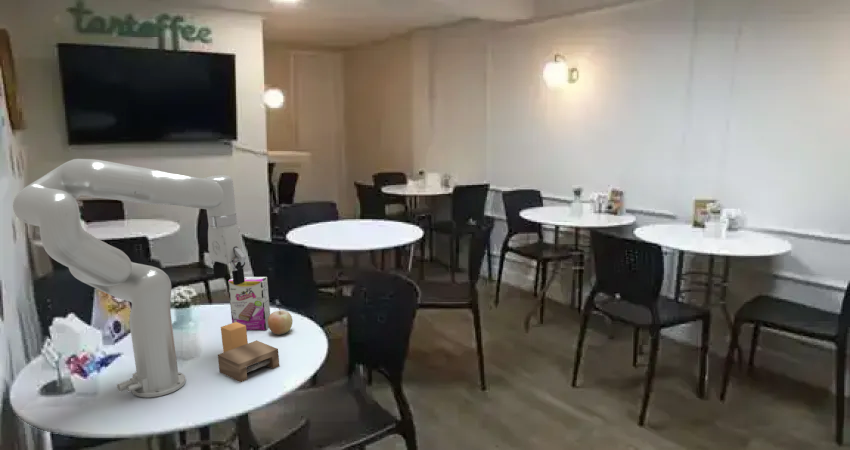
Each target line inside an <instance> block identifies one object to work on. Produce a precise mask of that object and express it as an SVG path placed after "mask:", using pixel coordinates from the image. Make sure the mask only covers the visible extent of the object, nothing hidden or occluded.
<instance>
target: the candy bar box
mask: <svg viewBox="0 0 850 450" xmlns="http://www.w3.org/2000/svg"><path fill="white" fill-rule="evenodd" d="M244 280H245V282H244V283H241V284H237V285H234V284H233V277H231V278H230V279H229V280H228V282H227V284H228V294H229V296H228V297H229V303H230V304H229V305H230V314H231V315H230V317H231V323H234V322H238V323H240V324H243V325H246V331H267V330H268V329H270V328H269V326H268V317H269V315H270V314H271V308H270V297H269V295H270V293H269V282H268V281H269V280H268V277H267V276H244Z"/></svg>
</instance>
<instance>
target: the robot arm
mask: <svg viewBox="0 0 850 450" xmlns="http://www.w3.org/2000/svg"><path fill="white" fill-rule="evenodd" d="M81 196H85V197H92V198H98V199H99V198H100V199H108V200H115V201H116V200H117V201H125V202H132V203H138V204H139V203H140V204H147V205H168V206H169V205H170V206H179V207H185V208H192V209H193V208H194V209H200V210H201V209H202V210H206V216H207V223H208V227H207V228H208V229H207V244H208V247H207V251H208V256H209V259H210V260H211V265H212V268H213V270H212V271H213V276H214V277H213V278H214V279H215V280H218V279H221V278H225V277H226V270H225V269H226V268H225V265H228V264H230V267H231V269H232V271H231V274H232V278H233V284H234V285H237V284H241V283H244V282H245V280H244V277H245V270H244V269H245V266H246V259H247V256H246V254H245V253H243V251H242V250H243V249H242V243H241V238H240V232H239V229H238V218H237V217H238V216H237V209H236V207H237V206H236V198H235V190H234V182H233V178H232V177H231V176H230V175H227V174H226V175H225V174H224V175H223V174H220V175H211V176H207V177H204V178H203V177H202V178H201V177H196V176H190V175H183V174H177V173H172V172H167V171H163V170H157V169H153V168H148V167H142V166H135V165H131V164H124V163H119V162H113V161H107V160H101V159H94V158H91V159H90V158H73V159H70V160H68V161H66V162H64V163H62V164H61V165H58V166H57V167H55V168H54V169H52V170H51V171H48V173H46V174H45V175H42V176H41V177H39V178H38V179H36V180H35V181H33V182H31V183H29V184H28V185H26V186H25V187H24V188H22V189H21V190H20V191H18V193H17V194H16V196H15V198H14V199H13V203H12V208H13V212H14V215H15V216H16V217H17V218H18V220H20V221H21V222H22V223H25V224H27V225H31V226H36V227H39V236H40V240H41V244H42V247H43V249H44V251H45V252H46V253H47V255H48V256H49V257H50V258H51V259H53V260H54V261H56V262H57V263H59V264H61V265H62V266H65V267H67V268H68V271H69V272H70V274H71V275H72V276H73V277H74V278H75V279H77V280H78V281H80V282H81V283H84V284H86V285H87V286H90V287H92V288H95V289H96V290H99V291H101V292H103V293H105V294H107V295H110V296H112V297H114V298H118V299H119V300H123V301H127V302H130V303H131V308H130V309H131V310H130V314H129V331H130V335H131V342H132V349H133V351H132V352H133V357H134V364H135V370H136V372H134V373H132V377H131V378H129V380H126V381H123V382H120V383H118V384H116V388H117V391H118V392H123V391H125V390H127V391H128V392H132V394H133V395H135V396H136V397H139V398H157V397H161V396H165V395H169V394H171V393H174V392H176V391H178V390H179V389H181V388H182V387H183V386H184V385H185V383H186V375H185V374H184V373H182V372H180V371H179V369H178V361H177V353H176V345H175V336H174V328H173V323H172V322H173V321H172V320H173V319H172V312H171V301H172V300H171V298H172V296H171V295H172V282H171V279H170V277H169V275H168V274H167V273H166V272H165V271H164V270H163V269H160V268H159V267H156V266H153V265H147V264H143V263H137V262H133V261H131V259H130V257H129V256H128V255H127V254H126V253H125V252H124V251H123V250H122V249H119V248H117V247H116V246H113V245H110V244H108V243H107V242H105V241H102V240H101V239H99V238H97V237H95V236H93V235H92V234H91V233H89V232H87V231H86V230H85V229H84V228H83V226H82V224H81V219H80V218H81V217H80V215H81V214H80V208H79V204H78V202H77V199H78V198H80V197H81ZM235 263H236V264H235Z"/></svg>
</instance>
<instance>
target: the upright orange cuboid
mask: <svg viewBox="0 0 850 450" xmlns="http://www.w3.org/2000/svg"><path fill="white" fill-rule="evenodd" d="M220 331H221V332H220V333H221V342H222V353H223V352H226V351H229V350H232V349H234V348H237V347H240V346H243V345H245V344H248V343H249V342H248V333H247V332H248V330H246V325H243V324H240V323H238V322H234V323H232V322H231V323H228V324H226V325H223V326H220Z"/></svg>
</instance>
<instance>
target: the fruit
mask: <svg viewBox="0 0 850 450" xmlns="http://www.w3.org/2000/svg"><path fill="white" fill-rule="evenodd" d="M278 309H279V310H276V311H273V312H272V313H271V312H270V315H269V317H268V326H269V328H268V329H269V330H270V331H271V332H272V333H273V334H275V335H277V336H278V335H284V334H287V333H288V332H289V331H290V330H291V328H292V327H293V326H292V325H293V316H292V314H291V313H290V312H289V311H286V310H284V309H283V310H281V307H279V308H278Z"/></svg>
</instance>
